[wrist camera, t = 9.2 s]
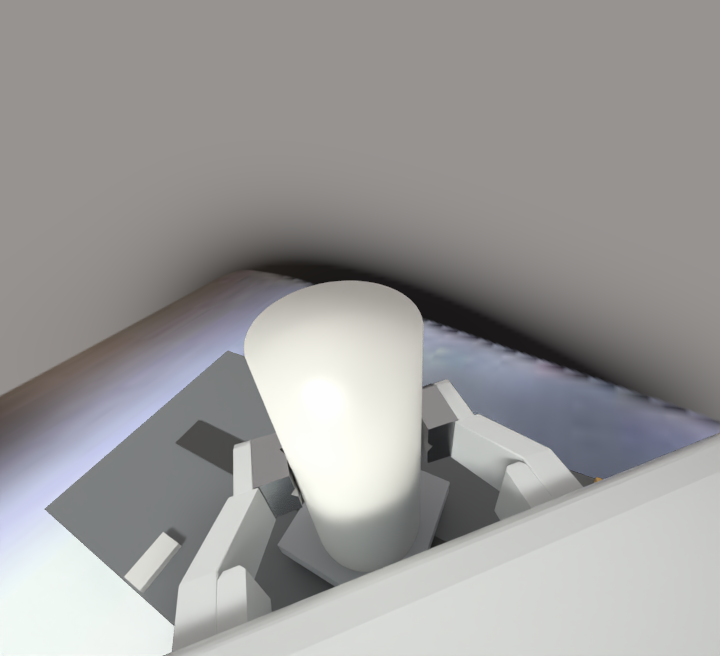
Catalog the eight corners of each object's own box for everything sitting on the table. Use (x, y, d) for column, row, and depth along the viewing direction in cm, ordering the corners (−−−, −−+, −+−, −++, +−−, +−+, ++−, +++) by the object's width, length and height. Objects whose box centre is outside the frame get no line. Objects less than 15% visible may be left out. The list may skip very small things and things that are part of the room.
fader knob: (282, 553, 13) (168, 369, 7) (346, 447, 17) (306, 261, 10) (403, 629, 11) (389, 462, 5) (448, 491, 15) (474, 289, 8)
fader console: (70, 527, 18) (40, 506, 16) (236, 370, 26) (226, 347, 24) (1177, 1511, 5) (1490, 1817, 3) (820, 590, 13) (870, 569, 11)
